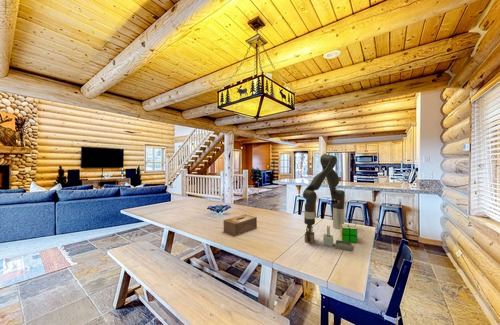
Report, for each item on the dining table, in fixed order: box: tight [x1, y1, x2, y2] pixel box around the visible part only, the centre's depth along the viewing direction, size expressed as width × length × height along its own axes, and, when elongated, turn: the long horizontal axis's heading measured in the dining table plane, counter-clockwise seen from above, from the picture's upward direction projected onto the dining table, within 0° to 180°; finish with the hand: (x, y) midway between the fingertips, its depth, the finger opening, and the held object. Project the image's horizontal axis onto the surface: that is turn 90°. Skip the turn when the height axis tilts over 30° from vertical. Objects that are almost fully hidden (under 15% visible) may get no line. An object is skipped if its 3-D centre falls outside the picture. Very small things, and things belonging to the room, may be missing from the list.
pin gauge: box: [326, 225, 331, 237], centre depth 144 cm, size 2×2×12 cm
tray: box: [334, 239, 353, 252], centre depth 140 cm, size 10×10×2 cm
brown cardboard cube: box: [304, 231, 315, 244], centre depth 150 cm, size 6×6×6 cm
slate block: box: [322, 233, 334, 248], centre depth 144 cm, size 6×6×6 cm
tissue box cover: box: [223, 213, 258, 237], centre depth 174 cm, size 26×14×10 cm, turn 136°
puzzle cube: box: [339, 223, 358, 244], centre depth 153 cm, size 10×10×10 cm
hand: (309, 239), depth 150 cm, fingers closed on brown cardboard cube, 6 cm apart
